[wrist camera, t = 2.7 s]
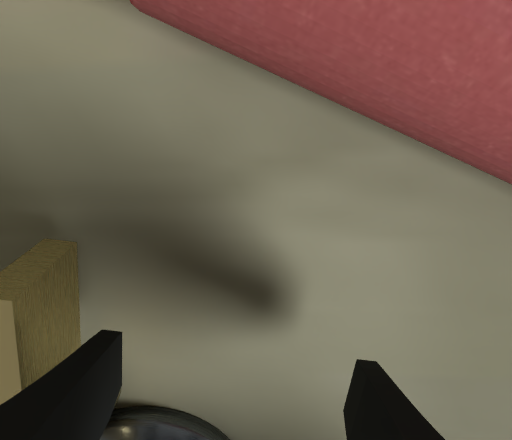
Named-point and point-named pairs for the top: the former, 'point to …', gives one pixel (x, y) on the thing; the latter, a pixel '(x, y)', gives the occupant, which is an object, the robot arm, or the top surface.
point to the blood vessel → (380, 61)
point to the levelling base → (158, 425)
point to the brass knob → (38, 314)
